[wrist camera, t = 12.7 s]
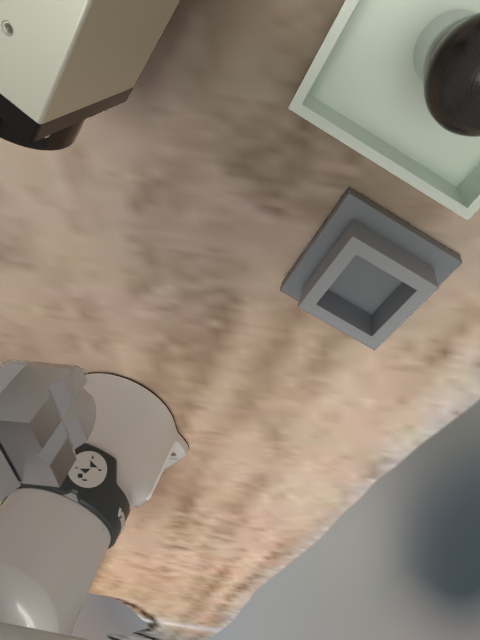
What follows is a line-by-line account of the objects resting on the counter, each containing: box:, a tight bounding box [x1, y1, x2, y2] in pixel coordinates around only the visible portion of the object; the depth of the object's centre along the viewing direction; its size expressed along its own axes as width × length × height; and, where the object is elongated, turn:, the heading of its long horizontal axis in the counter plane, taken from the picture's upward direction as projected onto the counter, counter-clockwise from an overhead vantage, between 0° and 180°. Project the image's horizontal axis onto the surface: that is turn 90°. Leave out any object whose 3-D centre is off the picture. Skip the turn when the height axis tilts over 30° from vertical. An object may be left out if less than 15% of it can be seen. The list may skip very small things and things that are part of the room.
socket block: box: [280, 188, 462, 350], centre depth 35 cm, size 10×10×4 cm
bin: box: [288, 0, 480, 221], centre depth 25 cm, size 13×13×4 cm
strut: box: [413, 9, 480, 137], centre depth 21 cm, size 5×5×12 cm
